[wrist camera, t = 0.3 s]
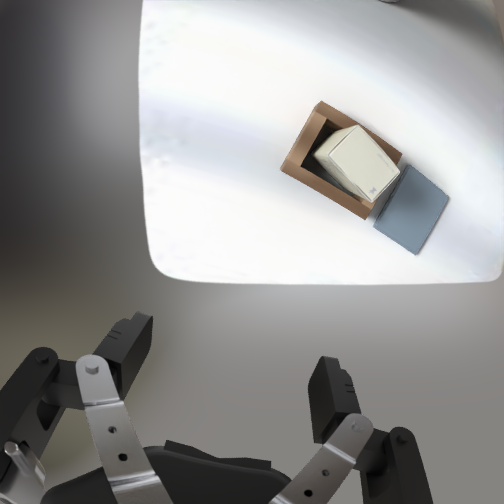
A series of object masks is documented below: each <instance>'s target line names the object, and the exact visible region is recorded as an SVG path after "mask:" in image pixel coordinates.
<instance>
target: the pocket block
mask: <svg viewBox="0 0 504 504" xmlns="http://www.w3.org/2000/svg"><path fill="white" fill-rule="evenodd" d="M323 124H324V125H326V126H328V127H329V128H331V129H333V130H334V131H339V130H342V129H345V128H348V127H352V126H355V125H359V126H360V127H361V128H362V129H363V130H364V131H365V132H366V133H367V134H368V135H369V136H370V137H371V138H372V139H373V140H374V141H375V142H376V143H377V144H378V145H379V147H380V148H381V149H382V150H383V151H384V152H385V153H386V154H387V156H388V157H389V158H390V159H391V160H392V162H393V163H394V164H395V165H397V163H398V161H399V160H400V158H401V156H402V153H400V152H399V151H398V150H396V149H395V148H394V147H392V146H391V145H389V144H388V143H387V142H385V141H384V140H382V139H381V138H380V137H378V136H377V135H375V134H374V133H372V132H371V131H369V130H368V129H366V128H365V127H363V126H362V125H360V124H359V123H357V122H356V121H354V120H352V119H351V118H349V117H348V116H346V115H344V114H343V113H341V112H340V111H338V110H336V109H335V108H333V107H331V106H330V105H328V104H326V103H324V102H323V101H320V102H319V103H318V104H317V105H316V106H315V107H314V109H313V111H312V113H311V114H310V116H309V118H308V120H307V122H306V123H305V125H304V127H303V129H302V130H301V132H300V134H299V136H298V138H297V139H296V141H295V143H294V145H293V147H292V148H291V150H290V152H289V154H288V156H287V157H286V159H285V161H284V163H283V165H282V166H281V168H280V170H281V171H282V172H284V173H286V174H288V175H289V176H291V177H293V178H295V179H297V180H298V181H300V182H302V183H304V184H306V185H307V186H309V187H311V188H313V189H314V190H316V191H318V192H319V193H321V194H323V195H325V196H326V197H328V198H330V199H331V200H333V201H335V202H336V203H338V204H340V205H341V206H343V207H345V208H346V209H348V210H350V211H351V212H353V213H354V214H356V215H358V216H359V217H361V218H362V219H364V220H366V218H367V216H368V215H369V213H370V211H371V210H372V208H373V206H374V205H375V203H376V201H377V199H378V198H379V196H380V195H379V196H378V197H377V198H376V199H375V200H374V201H373V202H372V203H371V202H369V201H367V200H366V199H364V198H362V197H360V196H358V195H356V194H353V195H352V197H351V196H349V195H348V194H346V193H345V192H343V191H341V190H340V189H338V188H336V187H335V186H333V185H331V184H330V183H328V182H326V181H325V180H323V179H321V178H320V177H318V176H316V175H314V174H313V173H311V172H309V171H308V170H306V169H304V168H302V167H300V166H301V164H302V162H303V160H304V158H305V157H306V155H307V153H308V151H309V149H310V148H311V146H312V144H313V142H314V141H315V139H316V137H317V135H318V133H319V132H320V130H321V128H322V126H323Z"/></svg>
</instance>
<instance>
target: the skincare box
mask: <svg viewBox="0 0 504 504" xmlns="http://www.w3.org/2000/svg"><path fill="white" fill-rule="evenodd" d="M311 156H312V157H313V158H314V159H315V160H316V161H317V162H318V163H319V164H320V165H321V166H322V167H323V168H324V169H325V170H326V171H327V172H328V173H329V174H330V175H331V176H332V177H333V178H334V179H335V180H336V181H337V182H338V183H339V184H340V185H341V186H342V187H343V188H345V189H347V190H349V191H351V192H353V193H354V194H356V195H358V196H360V197H362V198H364V199H366V200H367V201H369V202H371V203H372V202H373V201H374V200H375V199H376V198H377V197H378V196H379V195H380V194H381V193H382V192H383V191H384V190H385V189H386V188H387V187H388V186H389V185H390V184H391V183H392V182H393V180H394V179H395V178H396V177H397V176H398V175H399V173H400V171H399V169H398V168H397V167H396V165H395V164H394V163H393V162H392V160H391V159H390V158H389V157H388V156H387V154H386V153H385V152H384V151H383V150H382V149H381V148H380V147H379V145H378V144H377V143H376V142H375V141H374V140H373V139H372V138H371V137H370V136H369V135H368V134H367V133H366V132H365V131H364V130H363V129H362V128H361V127H360V126H359V125H355V126H352V127H348V128H345V129H342V130H339V131H336V132H332V133H331V134H330V135H329V136H328V137H327V138H326V139H325V140H324V141H323V142H322V143H321V144H320V145H319V146H318V147H317V148H316V149H315V150H314V151H313V152H312V153H311Z"/></svg>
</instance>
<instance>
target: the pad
mask: <svg viewBox="0 0 504 504" xmlns="http://www.w3.org/2000/svg"><path fill="white" fill-rule="evenodd" d="M448 198H449V197H448V196H447V195H446V194H445V193H444V192H443V191H442V190H440V189H439V188H438V187H437V186H436V185H434V184H433V183H432V182H431V181H430V180H428V179H427V178H426V177H425V176H424V175H422V174H421V173H420V172H419V171H417V170H416V169H415V168H413V167H412V166H411V165H407V167H406V169H405V171H404V173H403V174H402V176H401V178H400V180H399V182H398V184H397V185H396V187H395V189H394V191H393V193H392V194H391V196H390V198H389V200H388V201H387V203H386V205H385V207H384V208H383V210H382V212H381V213H380V215H379V217H378V219H377V220H376V222H375V224H374V225H373V227H374V228H375V229H377V230H378V231H380V232H382V233H383V234H385V235H386V236H388V237H389V238H391V239H392V240H394V241H395V242H397V243H398V244H400V245H401V246H403V247H404V248H406V249H407V250H408V251H410V252H411V253H413V254H414V255H416V254H417V252H418V251H419V249H420V248H421V246H422V244H423V243H424V241H425V239H426V238H427V236H428V234H429V233H430V231H431V229H432V227H433V226H434V224H435V222H436V220H437V219H438V217H439V215H440V213H441V211H442V209H443V208H444V206H445V204H446V202H447V200H448Z"/></svg>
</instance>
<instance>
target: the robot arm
mask: <svg viewBox="0 0 504 504" xmlns="http://www.w3.org/2000/svg"><path fill="white" fill-rule="evenodd" d="M381 1H385V2H397V1H400V0H381ZM152 327H153V316H151V315H148V314H145V313H142V312H136V313H135V315H134V316H133V318H132V319H131V320H129V319H122V320H120V321H119V322H117V323H116V324H115V325H114V326H113V328H112V329H111V331H109V333H108V334H107V336H106V337H105V338H104V339H103V341H102V342H101V344H100V345H99V346H98V347H97V349H96V350H95V351H94V353H93V354H92V355H86V356H83V357H81V358H80V359H79V360H78V361H76V362H74V361H67V360H60V359H58V355H57V353H56V352H55V351H54V350H52V349H51V348H47V347H39V348H36V349H34V350H32V351H31V352H30V353H29V355H28V356H27V357H26V358H25V359H24V361H23V362H22V363H21V364H20V366H19V367H18V368H17V369H16V371H15V372H14V374H13V375H12V376H11V377H10V379H9V380H8V381H7V382H6V384H5V385H4V386H3V388H2V389H1V390H0V500H1V501H2V502H3V503H6V504H327V503H328V502H329V500H330V499H331V497H332V496H333V495H334V494H335V492H336V491H337V490H338V488H339V487H340V485H341V484H342V483H343V481H344V480H345V478H346V477H347V476H348V474H349V473H350V471H351V470H352V469H356V470H359V471H360V478H361V486H362V495H363V504H433V501H432V497H431V492H430V488H429V484H428V481H427V477H426V473H425V470H424V466H423V463H422V459H421V456H420V453H419V449H418V446H417V443H416V440H415V437H414V435H413V433H412V432H411V431H409V430H408V429H406V428H403V427H395V428H393V429H392V430H391V431H390V432H389V433H388V432H385V431H381V430H378V429H375V428H373V424H372V422H371V421H370V420H369V419H368V418H367V417H365V416H363V415H362V414H361V410H360V407H359V403H358V400H357V396H356V393H355V389H354V387H353V382H352V379H351V377H350V376H349V374H348V373H347V372H346V370H343V369H341V368H340V365H339V361H338V359H337V358H332V357H326V356H322V357H321V358H320V359H319V361H318V364H317V366H316V368H315V370H314V372H313V374H312V376H311V378H310V380H309V384H308V395H309V403H310V412H311V421H312V430H313V439H314V443H320V444H323V446H322V448H321V449H320V450H319V451H318V452H317V453H316V454H315V456H314V457H313V458H312V459H311V460H310V462H309V463H307V465H306V466H305V467H304V468H303V469H302V470H301V471H300V472H299V473H298V475H296V476H295V478H294V479H293V480H291V479H290V478H289V477H288V476H286V475H285V474H283V473H281V472H280V471H277V470H275V469H273V468H271V461H266V460H259V459H252V458H216V457H214V456H211V455H209V454H207V453H205V452H202V451H200V450H198V449H196V448H194V447H191V446H188V445H184V444H180V443H176V442H173V441H169V440H166V443H165V446H149V447H144V448H142V446H141V443H140V441H139V439H138V437H137V435H136V432H135V430H134V427H133V425H132V423H131V420H130V418H129V415H128V413H127V410H126V408H125V405H124V403H123V401H124V399H125V397H126V395H127V393H128V391H129V389H130V387H131V385H132V383H133V381H134V380H135V378H136V376H137V374H138V372H139V370H140V368H141V366H142V364H143V362H144V360H145V358H146V357H147V355H148V353H149V350H150V347H151V340H152ZM66 408H73V409H79V410H85V413H86V416H87V420H88V424H89V427H90V430H91V434H92V437H93V440H94V444H95V447H96V450H97V453H98V455H99V459H100V461H101V464H102V467H100V468H97V469H96V470H93V471H91V472H88V473H86V474H84V475H81V476H79V477H77V478H75V479H72V480H70V481H67V482H65V483H62V484H59V485H57V486H54V487H52V488H51V489H49V490H48V491H47V492H46V491H45V489H44V479H45V471H44V468H43V466H42V465H41V463H40V462H39V460H40V457H41V455H42V453H43V451H44V449H45V447H46V445H47V443H48V441H49V439H50V437H51V436H52V433H53V432H54V430H55V428H56V426H57V424H58V422H59V420H60V418H61V417H62V415H63V413H64V411H65V409H66Z"/></svg>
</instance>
